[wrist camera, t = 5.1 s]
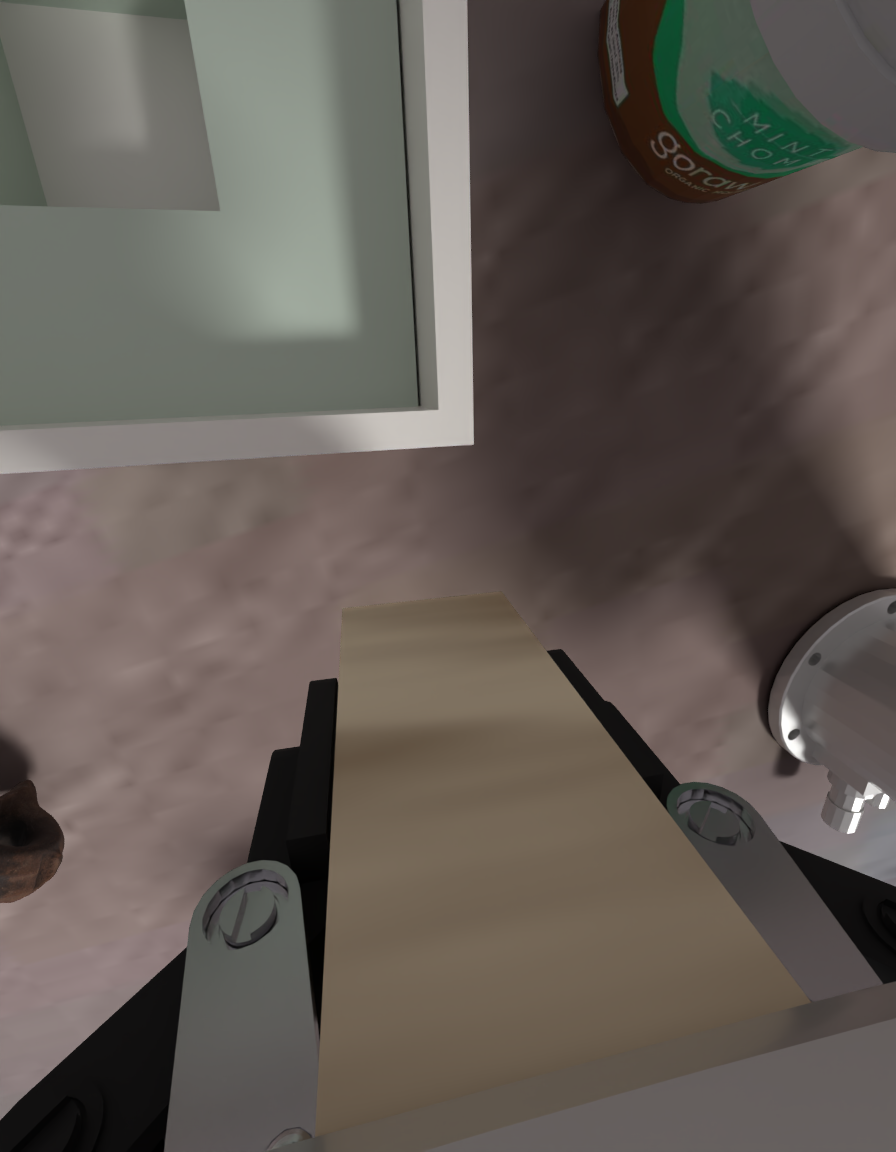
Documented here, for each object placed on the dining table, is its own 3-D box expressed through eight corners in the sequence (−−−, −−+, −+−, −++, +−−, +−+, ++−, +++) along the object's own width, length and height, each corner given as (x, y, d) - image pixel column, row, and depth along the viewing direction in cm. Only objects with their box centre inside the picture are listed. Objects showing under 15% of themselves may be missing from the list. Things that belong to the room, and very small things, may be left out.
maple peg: (501, 720, 14) (795, 1369, 5) (359, 742, 13) (372, 1540, 4) (501, 591, 12) (929, 1158, 3) (342, 608, 12) (302, 1372, 3)
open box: (430, 427, 20) (473, 444, 14) (-71, 454, 17) (-312, 493, 11) (400, -230, 14) (455, -759, 7) (-427, -395, 11) (-1596, -1599, 4)
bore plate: (406, 403, 19) (418, 406, 16) (-68, 425, 16) (-151, 432, 13) (366, -224, 13) (375, -385, 10) (-392, -371, 10) (-659, -650, 7)
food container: (538, 216, 19) (734, 50, 9) (560, -1, 16) (841, -485, 7) (800, 255, 21) (1149, 156, 12) (849, 73, 19) (1316, -212, 10)
